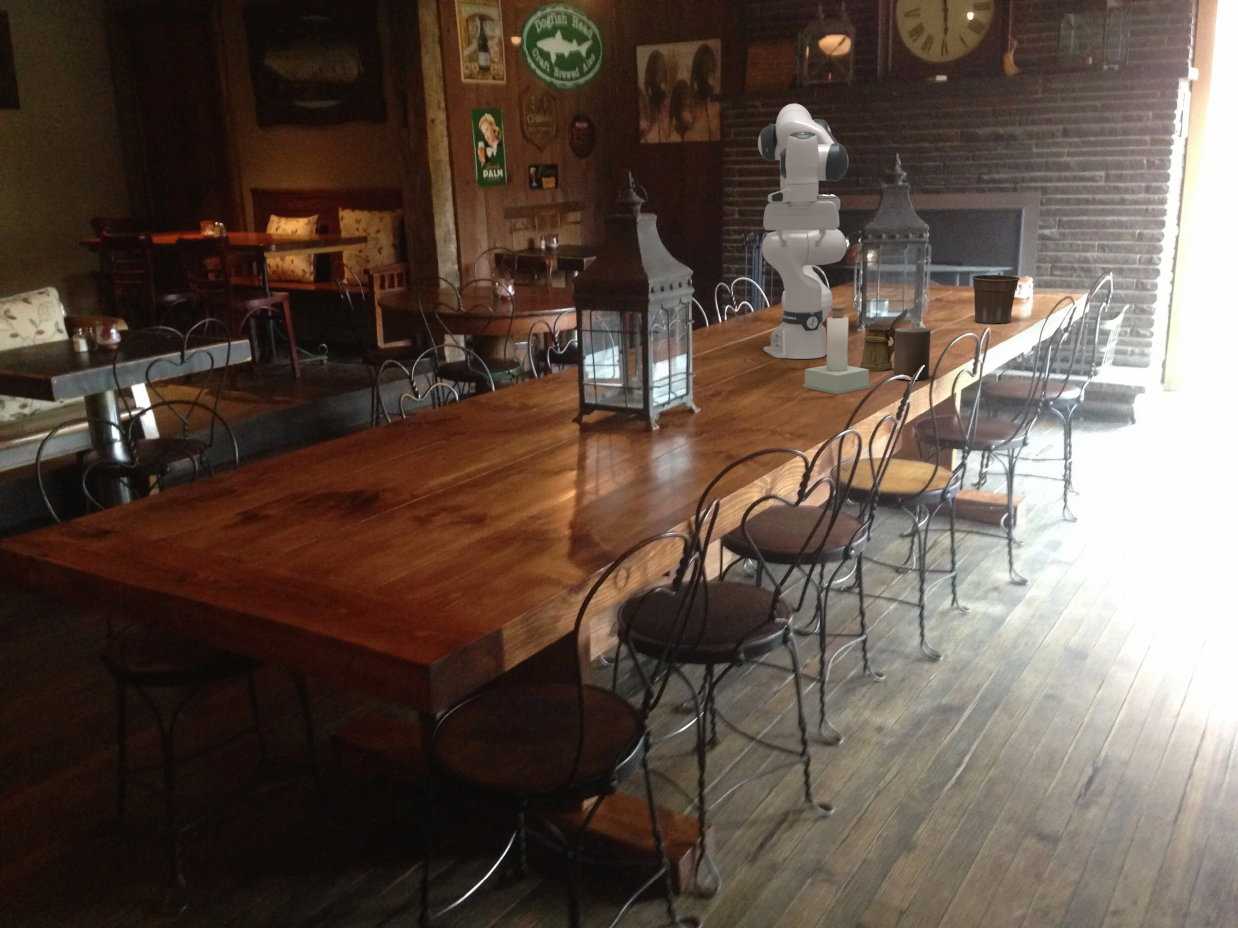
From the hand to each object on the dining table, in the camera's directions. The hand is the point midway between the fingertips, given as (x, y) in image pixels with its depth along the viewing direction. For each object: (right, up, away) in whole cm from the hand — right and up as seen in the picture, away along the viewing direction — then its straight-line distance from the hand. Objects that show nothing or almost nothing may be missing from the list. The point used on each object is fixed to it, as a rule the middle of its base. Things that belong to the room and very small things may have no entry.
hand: (800, 247), depth 305 cm
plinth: (+10, -38, +1) cm, 39 cm away
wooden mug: (+28, -31, +24) cm, 48 cm away
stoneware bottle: (+10, -33, 0) cm, 35 cm away
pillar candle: (+33, -35, +11) cm, 49 cm away
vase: (+19, -8, +106) cm, 108 cm away
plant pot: (+86, -8, +101) cm, 132 cm away
